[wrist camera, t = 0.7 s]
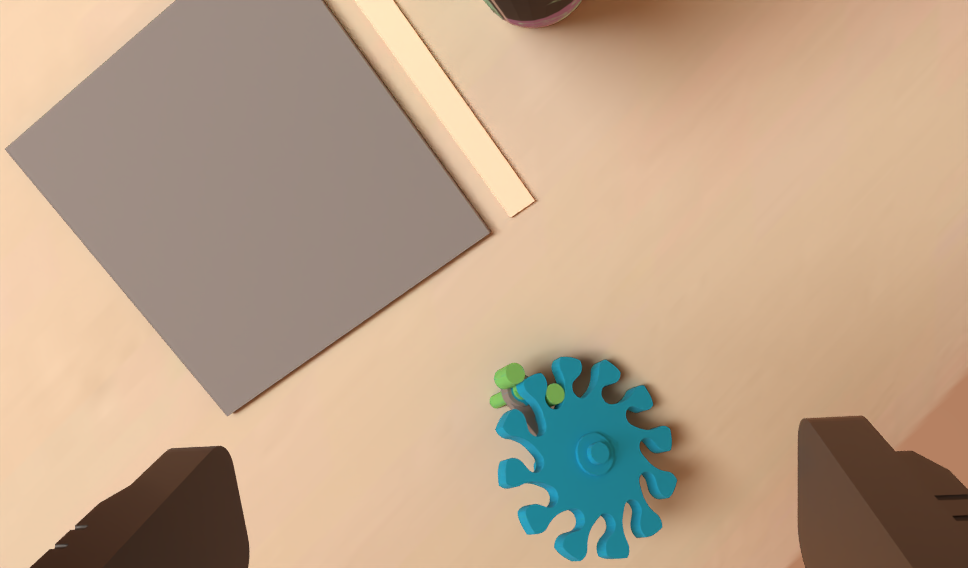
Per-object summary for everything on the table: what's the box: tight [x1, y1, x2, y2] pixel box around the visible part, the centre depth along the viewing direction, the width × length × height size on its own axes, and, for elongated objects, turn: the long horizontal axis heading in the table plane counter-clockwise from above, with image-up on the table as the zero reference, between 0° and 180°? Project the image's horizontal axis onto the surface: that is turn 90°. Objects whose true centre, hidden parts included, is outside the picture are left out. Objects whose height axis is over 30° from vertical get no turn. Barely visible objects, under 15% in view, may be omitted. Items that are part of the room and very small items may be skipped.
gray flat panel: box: [5, 0, 535, 416], centre depth 40 cm, size 21×18×1 cm
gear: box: [490, 357, 677, 561], centre depth 40 cm, size 11×6×10 cm
